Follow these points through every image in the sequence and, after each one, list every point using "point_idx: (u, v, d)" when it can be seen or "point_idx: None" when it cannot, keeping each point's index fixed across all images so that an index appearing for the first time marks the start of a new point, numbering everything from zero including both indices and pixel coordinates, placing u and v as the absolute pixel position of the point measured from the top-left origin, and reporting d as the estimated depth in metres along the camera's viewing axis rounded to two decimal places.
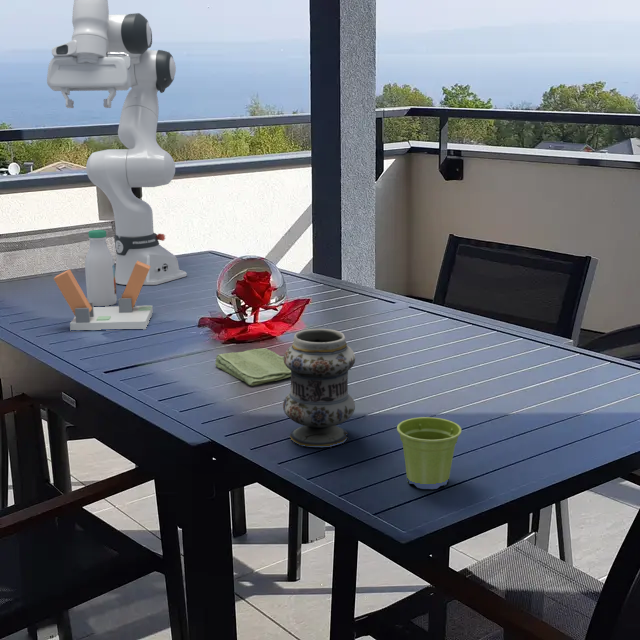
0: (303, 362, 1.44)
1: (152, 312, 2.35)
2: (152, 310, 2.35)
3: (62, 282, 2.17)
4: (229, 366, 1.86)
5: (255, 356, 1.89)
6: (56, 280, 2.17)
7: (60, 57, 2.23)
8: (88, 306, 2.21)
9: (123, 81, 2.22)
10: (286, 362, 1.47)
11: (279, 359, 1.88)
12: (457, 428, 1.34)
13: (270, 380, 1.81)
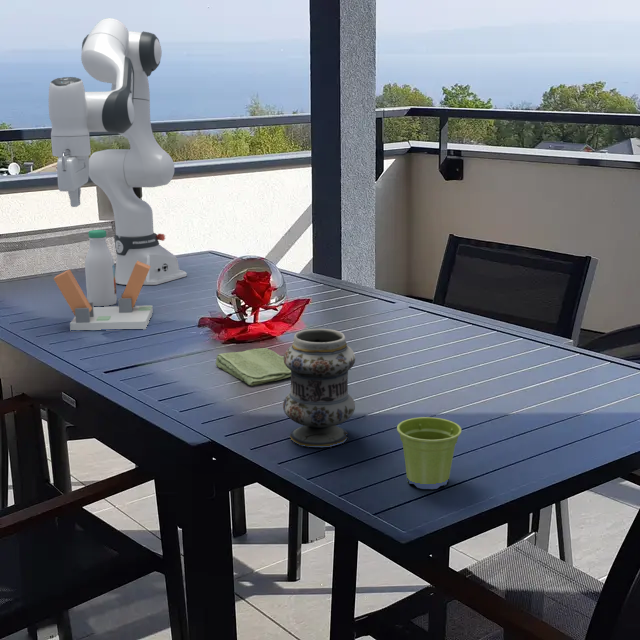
0: (303, 362, 1.44)
1: (152, 312, 2.35)
2: (152, 310, 2.35)
3: (62, 282, 2.17)
4: (229, 366, 1.86)
5: (256, 356, 1.89)
6: (56, 280, 2.17)
7: None
8: (88, 306, 2.21)
9: (58, 186, 2.09)
10: (286, 362, 1.47)
11: (279, 359, 1.88)
12: (457, 428, 1.34)
13: (270, 380, 1.81)
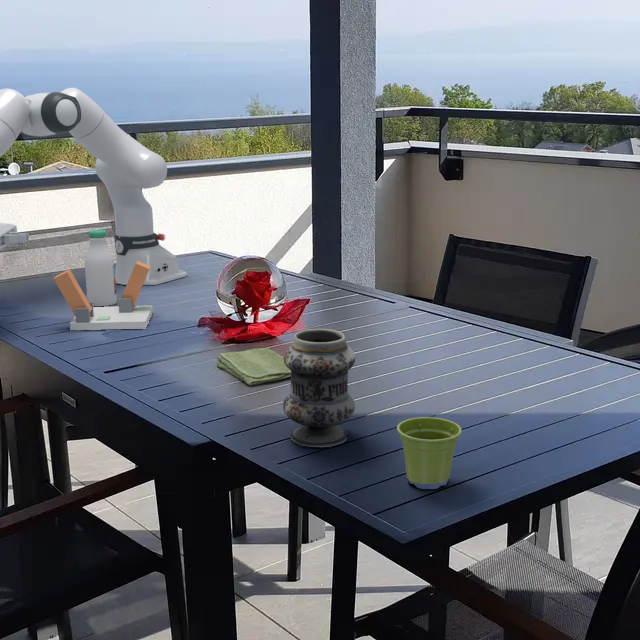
0: (303, 362, 1.44)
1: (152, 312, 2.35)
2: (152, 310, 2.35)
3: (62, 282, 2.17)
4: (229, 365, 1.86)
5: (256, 356, 1.90)
6: (56, 280, 2.17)
7: None
8: (88, 306, 2.21)
9: None
10: (286, 362, 1.47)
11: (279, 359, 1.88)
12: (457, 428, 1.34)
13: (269, 380, 1.81)
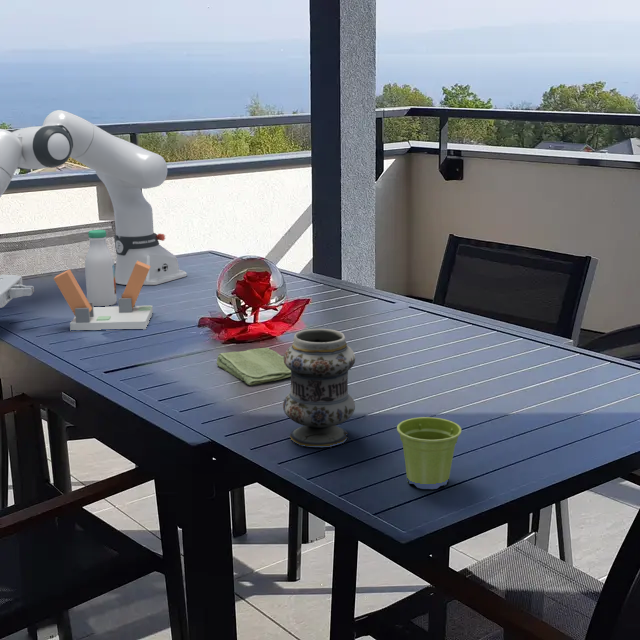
0: (303, 362, 1.44)
1: (152, 312, 2.35)
2: (152, 310, 2.35)
3: (62, 282, 2.17)
4: (229, 365, 1.86)
5: (256, 356, 1.90)
6: (56, 280, 2.17)
7: None
8: (88, 306, 2.21)
9: None
10: (286, 362, 1.47)
11: (280, 359, 1.88)
12: (457, 428, 1.34)
13: (269, 380, 1.81)
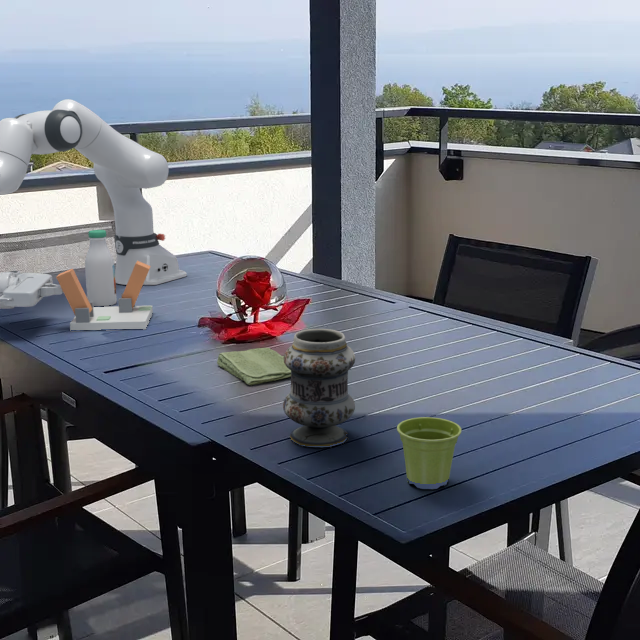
0: (303, 362, 1.44)
1: (152, 312, 2.35)
2: (152, 310, 2.35)
3: (65, 281, 2.17)
4: (230, 365, 1.86)
5: (257, 356, 1.90)
6: (58, 278, 2.17)
7: None
8: (89, 306, 2.21)
9: (29, 306, 2.11)
10: (286, 362, 1.47)
11: (280, 359, 1.88)
12: (457, 428, 1.34)
13: (269, 380, 1.81)
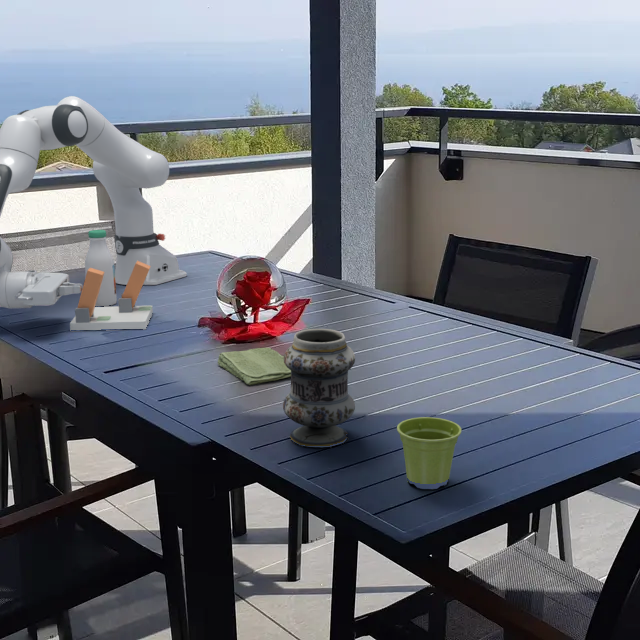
0: (303, 362, 1.44)
1: (152, 312, 2.35)
2: (152, 310, 2.35)
3: (91, 279, 2.18)
4: (230, 365, 1.87)
5: (257, 355, 1.90)
6: (88, 273, 2.17)
7: None
8: (92, 311, 2.21)
9: None
10: (286, 362, 1.47)
11: (280, 359, 1.88)
12: (457, 428, 1.34)
13: (268, 380, 1.81)
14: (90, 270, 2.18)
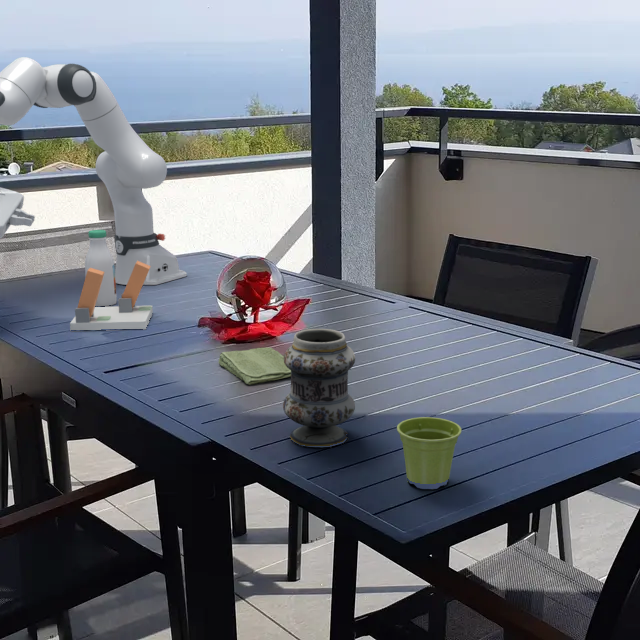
0: (303, 362, 1.44)
1: (152, 312, 2.35)
2: (152, 310, 2.35)
3: (91, 279, 2.18)
4: (230, 364, 1.87)
5: (258, 355, 1.90)
6: (88, 273, 2.17)
7: None
8: (92, 311, 2.21)
9: None
10: (286, 362, 1.47)
11: (280, 359, 1.88)
12: (457, 428, 1.34)
13: (268, 379, 1.81)
14: (90, 270, 2.18)
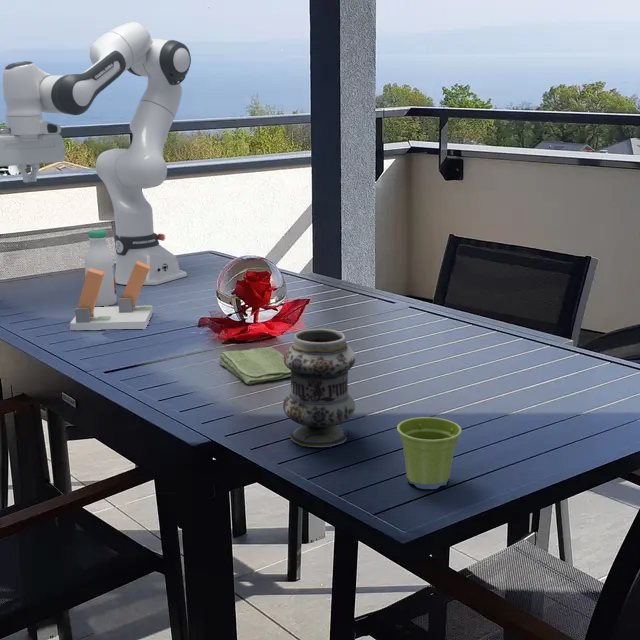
0: (303, 362, 1.44)
1: (152, 312, 2.35)
2: (152, 310, 2.35)
3: (91, 279, 2.18)
4: (230, 364, 1.87)
5: (258, 355, 1.90)
6: (88, 273, 2.17)
7: None
8: (92, 311, 2.21)
9: None
10: (286, 362, 1.47)
11: (281, 359, 1.88)
12: (457, 428, 1.34)
13: (268, 379, 1.81)
14: (90, 270, 2.18)
